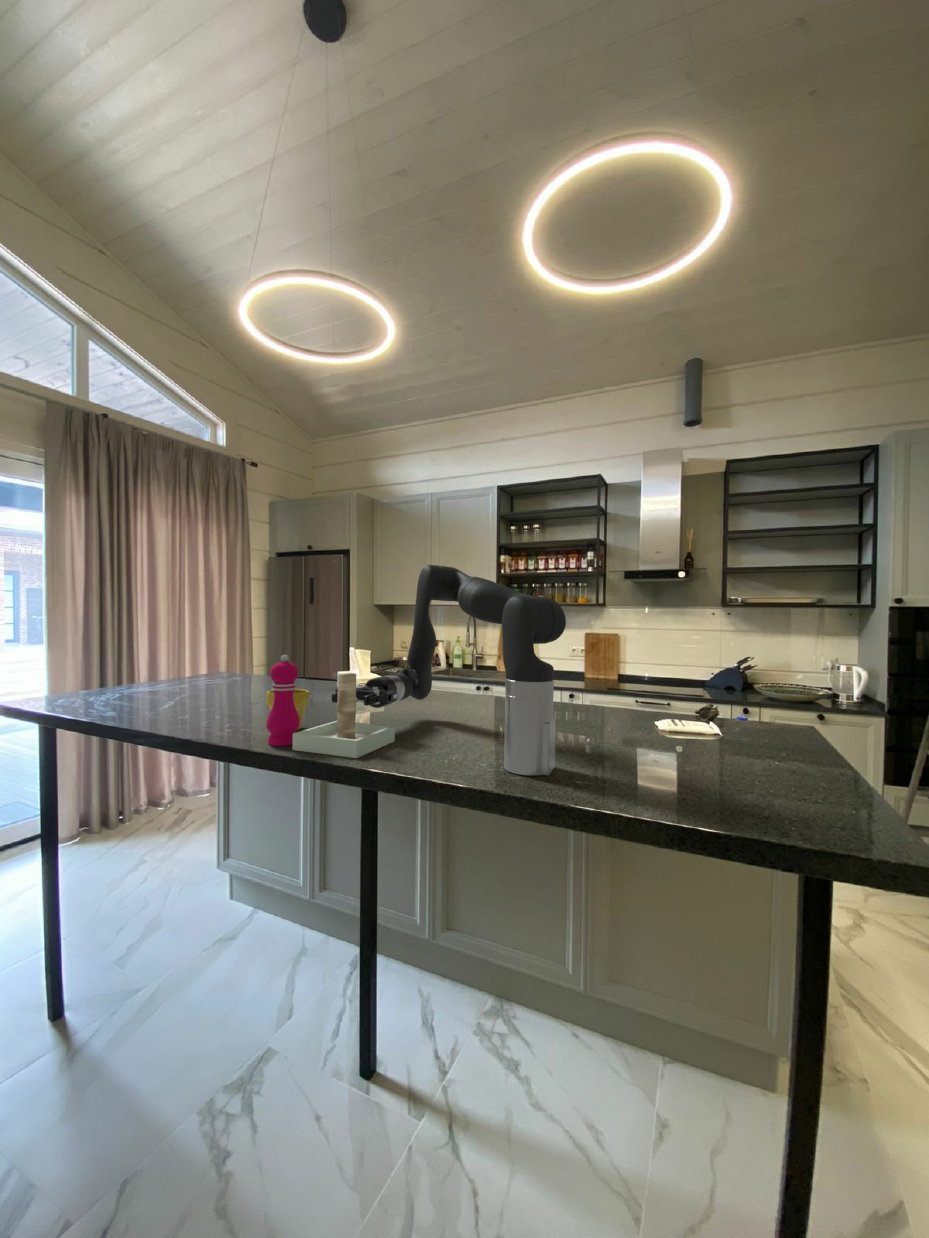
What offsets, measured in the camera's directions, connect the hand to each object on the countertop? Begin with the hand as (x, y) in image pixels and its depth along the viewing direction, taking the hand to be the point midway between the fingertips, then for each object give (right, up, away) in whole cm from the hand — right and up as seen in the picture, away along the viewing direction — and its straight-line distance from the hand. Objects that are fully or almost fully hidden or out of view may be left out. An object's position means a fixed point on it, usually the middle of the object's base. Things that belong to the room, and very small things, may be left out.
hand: (349, 699), depth 113 cm
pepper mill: (-15, -10, 0) cm, 18 cm away
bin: (-1, -10, -1) cm, 10 cm away
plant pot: (-19, -10, +14) cm, 26 cm away
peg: (0, -10, -1) cm, 10 cm away
